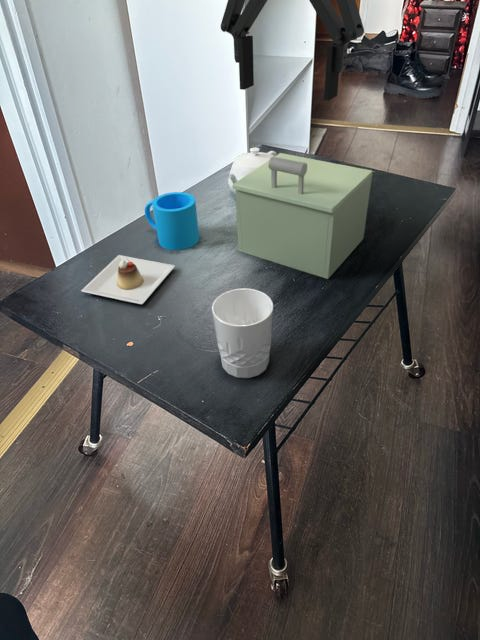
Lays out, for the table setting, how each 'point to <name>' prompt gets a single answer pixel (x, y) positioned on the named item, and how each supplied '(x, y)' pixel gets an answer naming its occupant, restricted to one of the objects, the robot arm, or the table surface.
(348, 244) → the chest
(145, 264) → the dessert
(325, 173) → the chest lid
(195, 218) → the mug
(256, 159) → the teapot
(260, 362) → the white cup
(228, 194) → the table surface
